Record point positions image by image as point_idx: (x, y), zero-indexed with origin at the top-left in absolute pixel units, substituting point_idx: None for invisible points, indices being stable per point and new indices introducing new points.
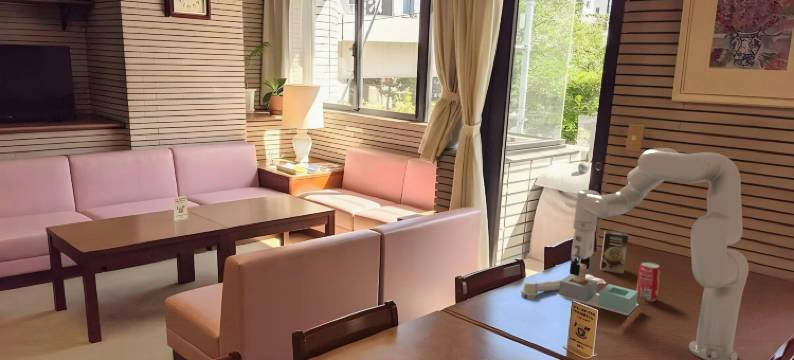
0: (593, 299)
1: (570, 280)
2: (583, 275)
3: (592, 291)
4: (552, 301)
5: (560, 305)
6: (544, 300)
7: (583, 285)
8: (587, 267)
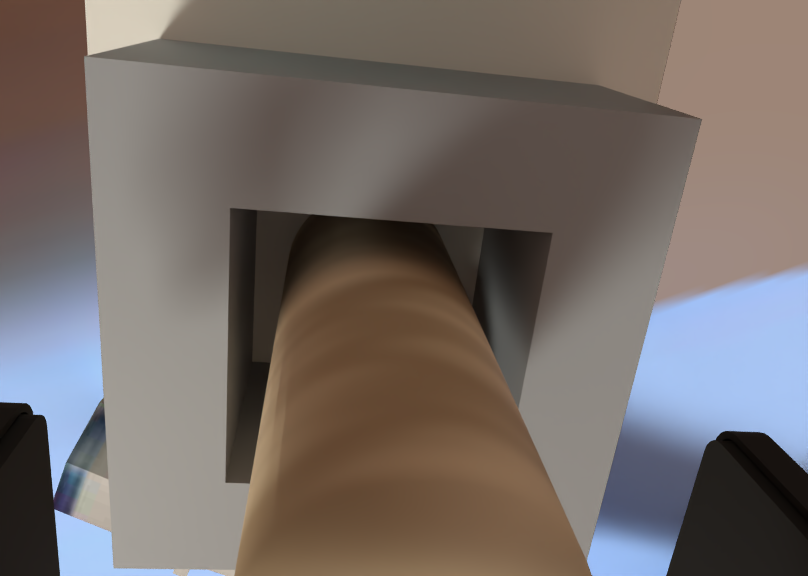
0: (429, 17)
1: None
2: (476, 357)
3: (373, 70)
4: (643, 430)
5: (717, 332)
6: (659, 495)
7: (578, 233)
8: (31, 442)
